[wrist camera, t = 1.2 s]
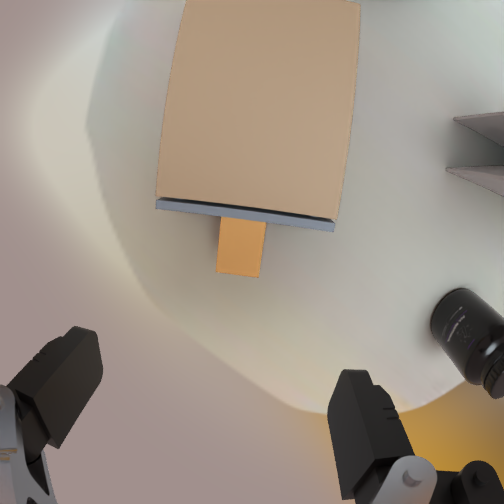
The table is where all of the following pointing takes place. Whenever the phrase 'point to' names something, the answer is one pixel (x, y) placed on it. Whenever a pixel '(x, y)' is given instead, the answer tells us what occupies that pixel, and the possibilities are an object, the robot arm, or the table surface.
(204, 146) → the sleeve
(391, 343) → the table surface
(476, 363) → the supplement bottle
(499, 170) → the grey standing panel
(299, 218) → the tray
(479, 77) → the table surface
